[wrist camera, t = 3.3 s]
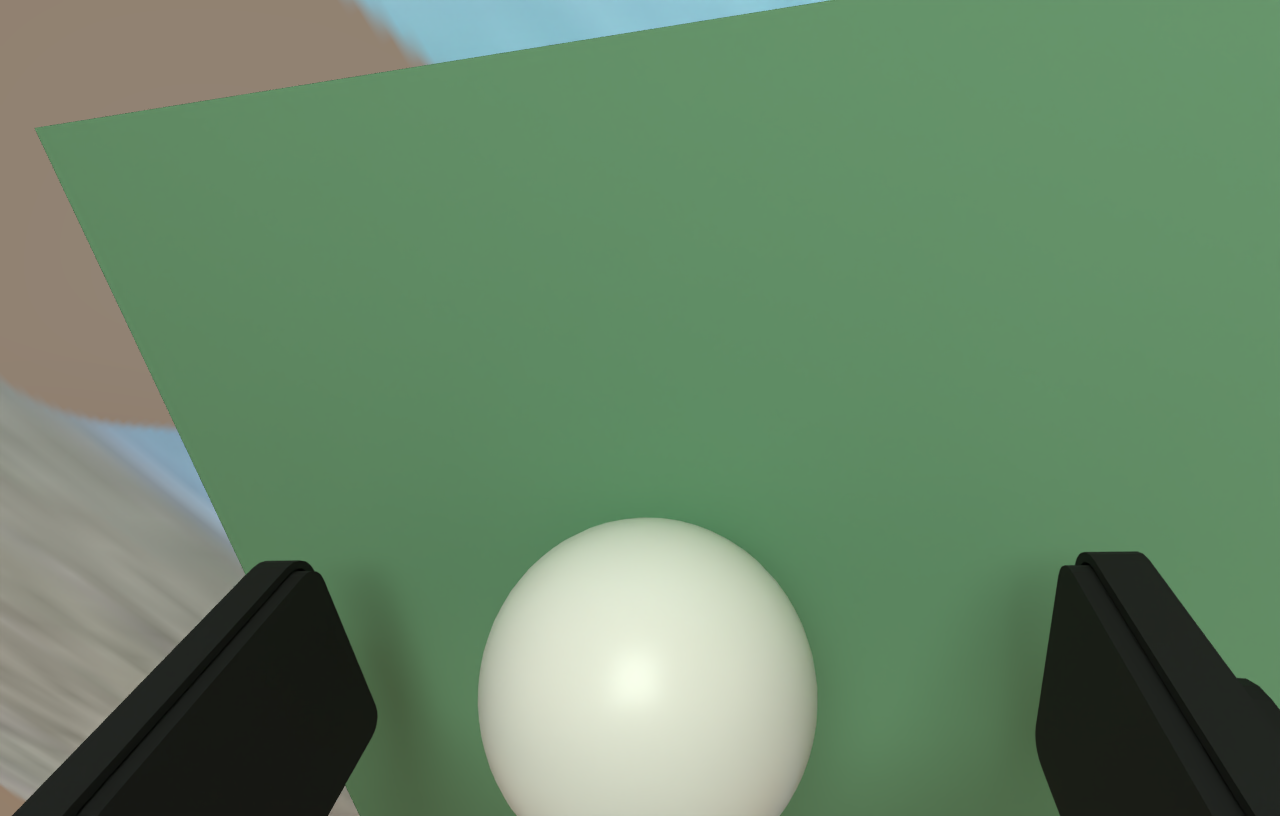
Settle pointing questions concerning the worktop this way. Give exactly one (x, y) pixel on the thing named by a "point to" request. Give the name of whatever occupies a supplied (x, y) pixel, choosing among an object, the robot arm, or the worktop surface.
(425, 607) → the putting mat
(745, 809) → the ball
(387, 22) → the worktop surface
